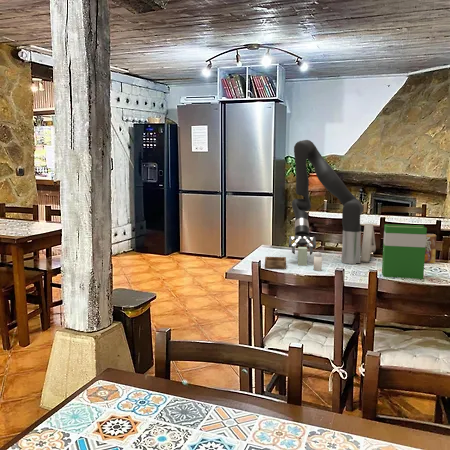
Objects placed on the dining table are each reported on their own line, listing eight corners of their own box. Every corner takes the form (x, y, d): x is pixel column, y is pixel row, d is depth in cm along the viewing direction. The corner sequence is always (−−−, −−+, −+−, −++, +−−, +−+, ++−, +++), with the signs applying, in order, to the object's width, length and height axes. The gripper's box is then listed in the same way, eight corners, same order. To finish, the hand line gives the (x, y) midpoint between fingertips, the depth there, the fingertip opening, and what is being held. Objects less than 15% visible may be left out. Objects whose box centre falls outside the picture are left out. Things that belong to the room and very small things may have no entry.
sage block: (306, 263, 239) (306, 247, 238) (306, 265, 235) (307, 248, 233) (297, 263, 240) (298, 246, 238) (298, 265, 235) (298, 248, 234)
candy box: (432, 261, 244) (434, 233, 242) (435, 263, 240) (437, 235, 238) (415, 261, 246) (417, 233, 243) (417, 262, 241) (419, 234, 239)
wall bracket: (371, 281, 265) (368, 261, 240) (364, 280, 267) (360, 260, 242) (375, 247, 274) (373, 224, 249) (368, 246, 275) (364, 223, 251)
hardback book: (420, 275, 217) (423, 225, 213) (423, 279, 210) (426, 228, 206) (381, 272, 221) (384, 224, 217) (383, 276, 214) (386, 226, 210)
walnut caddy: (285, 264, 237) (285, 257, 236) (286, 269, 227) (286, 261, 227) (265, 264, 238) (265, 256, 237) (264, 268, 229) (265, 260, 228)
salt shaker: (321, 268, 228) (321, 251, 227) (322, 270, 224) (322, 252, 223) (313, 268, 229) (313, 251, 227) (313, 270, 225) (314, 252, 223)
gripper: (288, 224, 243) (288, 249, 234) (315, 224, 242) (316, 250, 232) (288, 232, 249) (288, 257, 240) (314, 232, 248) (315, 257, 238)
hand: (302, 253), depth 236 cm, fingers open, 8 cm apart
